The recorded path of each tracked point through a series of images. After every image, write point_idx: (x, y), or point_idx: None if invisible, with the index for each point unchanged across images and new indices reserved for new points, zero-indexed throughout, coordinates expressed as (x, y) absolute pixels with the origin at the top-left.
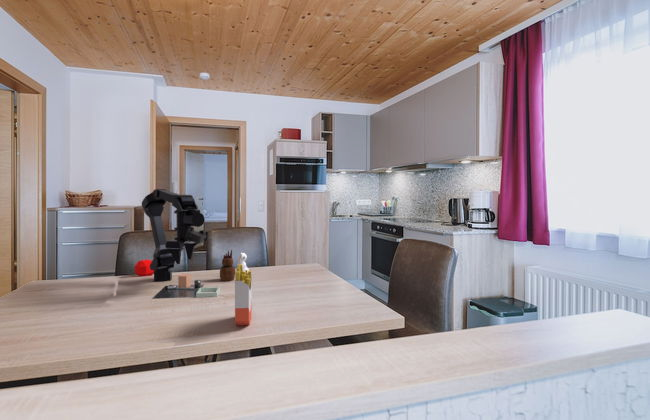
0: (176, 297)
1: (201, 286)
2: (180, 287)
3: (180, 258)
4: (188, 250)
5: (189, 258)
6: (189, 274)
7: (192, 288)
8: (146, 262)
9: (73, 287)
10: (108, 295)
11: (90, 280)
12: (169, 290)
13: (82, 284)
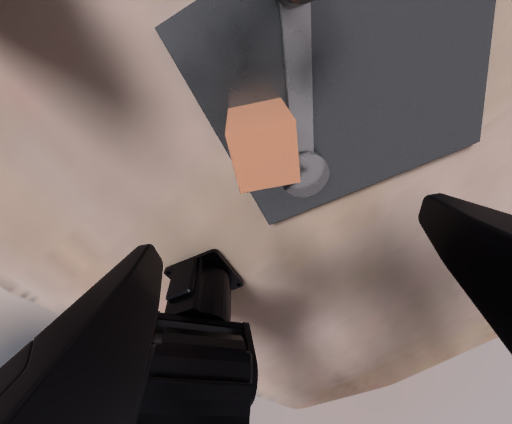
0: (490, 5)
1: (208, 9)
2: (312, 120)
3: (508, 231)
4: (109, 397)
5: (154, 262)
6: (232, 137)
7: (310, 18)
8: None
9: (320, 369)
10: (378, 296)
11: (264, 381)
12: (340, 157)
13: (296, 373)
